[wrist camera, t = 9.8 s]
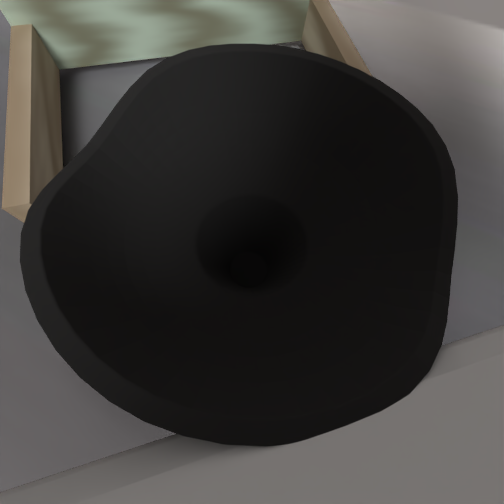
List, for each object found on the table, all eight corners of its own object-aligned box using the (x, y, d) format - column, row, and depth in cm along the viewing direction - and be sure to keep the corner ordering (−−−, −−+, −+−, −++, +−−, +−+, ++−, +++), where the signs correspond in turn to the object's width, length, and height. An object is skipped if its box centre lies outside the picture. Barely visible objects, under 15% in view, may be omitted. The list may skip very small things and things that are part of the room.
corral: (310, 29, 24) (332, -71, 18) (381, 168, 19) (441, 87, 13) (41, 60, 21) (-30, -50, 15) (42, 235, 16) (-62, 167, 10)
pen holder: (132, 260, 16) (-17, 102, 6) (278, 199, 18) (322, 13, 9) (199, 436, 12) (95, 611, 3) (367, 336, 15) (586, 276, 5)
